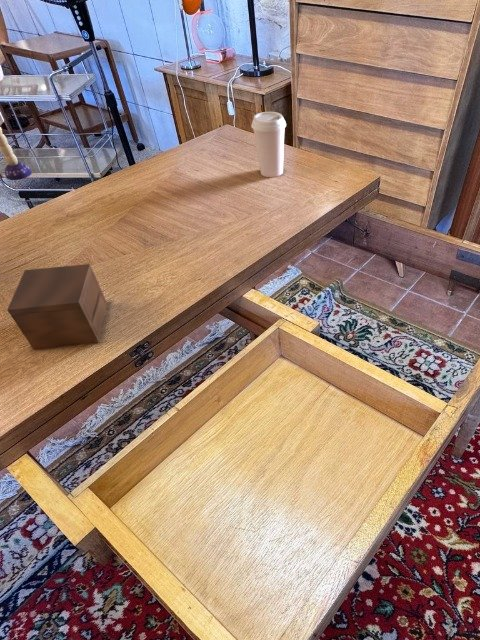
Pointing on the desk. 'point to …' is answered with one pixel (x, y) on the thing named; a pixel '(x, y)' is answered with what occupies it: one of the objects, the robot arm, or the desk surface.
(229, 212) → the desk surface
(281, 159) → the coffee cup
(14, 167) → the toy lamp
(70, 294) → the lidded wooden box
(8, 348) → the desk surface
